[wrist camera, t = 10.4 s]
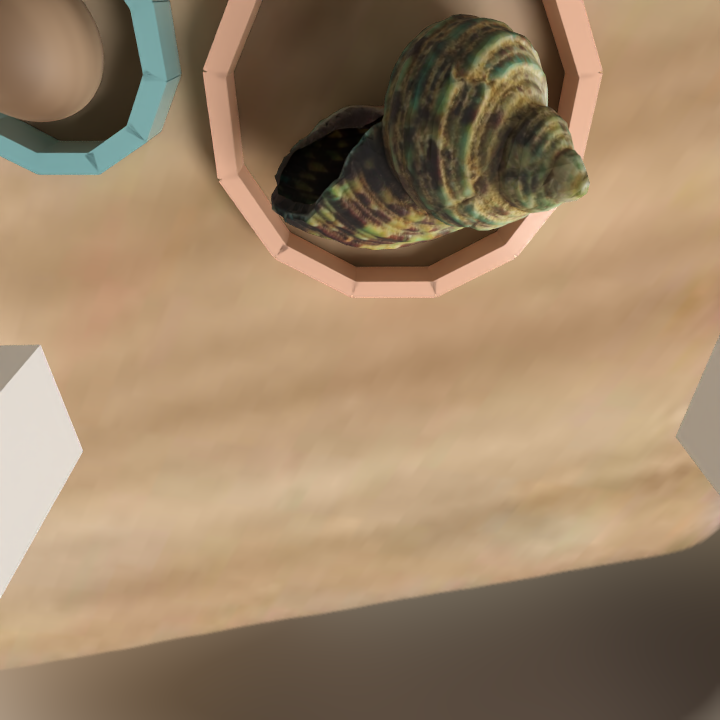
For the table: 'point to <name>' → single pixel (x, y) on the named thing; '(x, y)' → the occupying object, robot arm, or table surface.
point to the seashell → (436, 146)
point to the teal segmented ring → (145, 118)
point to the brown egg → (48, 58)
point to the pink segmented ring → (387, 281)
